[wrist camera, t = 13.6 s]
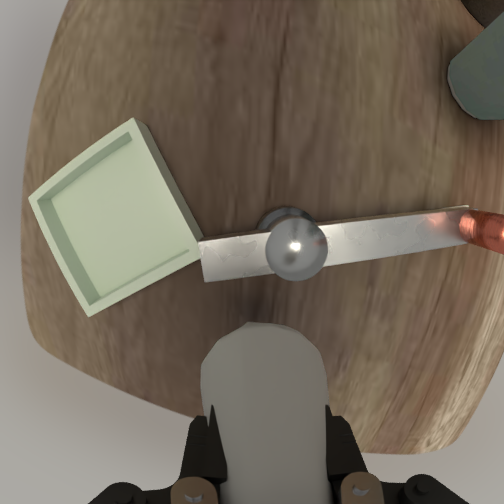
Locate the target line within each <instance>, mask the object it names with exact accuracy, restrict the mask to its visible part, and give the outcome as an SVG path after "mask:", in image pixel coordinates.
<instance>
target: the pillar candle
mask: <svg viewBox="0 0 504 504" xmlns="http://www.w3.org/2000/svg"><path fill="white" fill-rule="evenodd" d="M461 1H462V2H463V4H464V5H465V6H466V8H467V9H468V10H469V11H470V13H471V14H472V15H473V16H474V17H475V18H476V20H477V21H478V22H479V23H480V24H482V25H483V27H485V28H487V27H488V26H489V25H490V24H491V23H492V22H493V21H494V20H495V19H496V18H497V17H498V16H500V15H501V14H502V13H503V12H504V0H461Z"/></svg>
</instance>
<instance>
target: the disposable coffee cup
mask: <svg viewBox="0 0 504 504" xmlns="http://www.w3.org/2000/svg"><path fill="white" fill-rule="evenodd" d="M447 80H448V83H449V86H450V89H451V92H452V95H453V97H454V98H455V99H456V101H457V102H458V104H459V105H460V107H461V108H462V109H463V110H464V111H465V112H467V113H468V114H470V115H471V116H472V117H474V118H478V119H479V120H504V12H503V13H502V14H501V15H500V16H498V17H497V18H496V19H495V20H494V21H493V22H492V23H491V24H490V25H489V26H488V27H487V28H486V29H484V30H483V31H482V32H481V33H480V34H479V35H478V36H477V37H476V38H475V39H474V40H473V41H472V42H470V43H469V44H468V45H467V46H466V47H465V48H464V49H463V50H462V51H461V52H460V53H459V54H458V55H457V56H455V57H454V58H453V59H452V60H451V61H450V65H449V66H448V76H447Z"/></svg>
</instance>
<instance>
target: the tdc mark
mask: <svg viewBox="0 0 504 504" xmlns="http://www.w3.org/2000/svg"><path fill="white" fill-rule="evenodd" d="M455 207H469V205H462V206H454V207H447V208H455ZM442 209H445V208H442Z"/></svg>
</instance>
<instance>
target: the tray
mask: <svg viewBox="0 0 504 504" xmlns="http://www.w3.org/2000/svg"><path fill="white" fill-rule="evenodd" d="M28 199H29V201H30V204H31V206H32V209H33V211H34V213H35V216H36V218H37V220H38V223H39V225H40V227H41V229H42V232H43V234H44V236H45V238H46V240H47V242H48V245H49V247H50V249H51V251H52V253H53V255H54V257H55V259H56V261H57V263H58V265H59V267H60V269H61V270H62V272H63V274H64V276H65V278H66V280H67V282H68V283H69V285H70V287H71V289H72V291H73V292H74V294H75V296H76V298H77V299H78V301H79V303H80V304H81V306H82V308H83V309H84V311H85V313H86V314H87V316H88V317H90V316H92V315H94V314H96V313H97V312H99V311H101V310H103V309H105V308H107V307H109V306H110V305H112V304H114V303H116V302H118V301H120V300H122V299H124V298H125V297H127V296H129V295H131V294H133V293H135V292H137V291H139V290H140V289H142V288H144V287H146V286H148V285H150V284H152V283H154V282H156V281H158V280H159V279H161V278H163V277H165V276H167V275H169V274H171V273H173V272H175V271H177V270H178V269H180V268H182V267H184V266H186V265H188V264H190V263H192V262H194V261H196V260H198V259H200V252H199V246H198V241H199V240H200V239H201V238H202V237H204V236H203V234H202V232H201V230H200V228H199V226H198V224H197V223H196V221H195V219H194V217H193V215H192V213H191V211H190V209H189V207H188V206H187V204H186V202H185V200H184V198H183V196H182V194H181V192H180V190H179V188H178V186H177V184H176V182H175V181H174V179H173V177H172V175H171V173H170V171H169V169H168V167H167V165H166V163H165V161H164V159H163V157H162V155H161V153H160V151H159V149H158V147H157V145H156V143H155V141H154V139H153V137H152V135H151V133H150V131H149V129H148V127H147V125H145V124H144V123H142V122H140V121H139V120H137V119H135V118H134V117H133V118H131V119H130V120H128V121H127V122H125V123H124V124H122V125H121V126H119V127H118V128H116V129H115V130H113V131H112V132H110V133H109V134H107V135H106V136H104V137H103V138H101V139H100V140H99V141H97V142H96V143H94V144H93V145H92V146H90V147H89V148H88V149H86V150H85V151H84V152H82V153H81V154H80V155H78V156H77V157H76V158H74V159H73V160H72V161H71V162H69V163H68V164H67V165H66V166H64V167H63V168H62V169H61V170H59V171H58V172H57V173H56V174H55V175H53V176H52V177H51V178H50V179H49V180H47V181H46V182H45V183H44V184H43V185H42V186H41V187H39V188H38V189H37V190H36V191H35V192H34V193H33V194H32V195H31V196H29V197H28Z"/></svg>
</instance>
